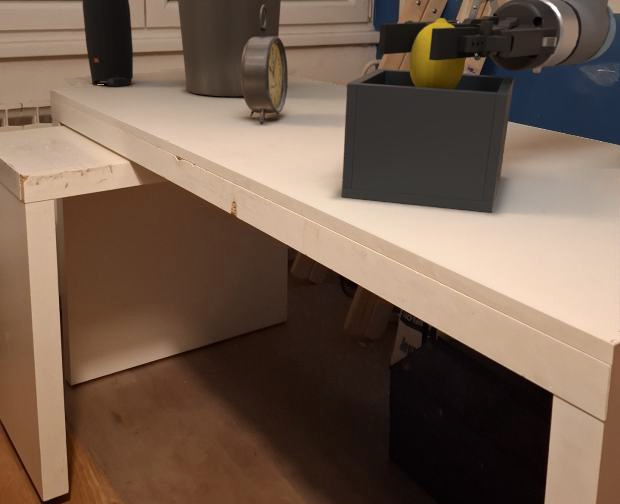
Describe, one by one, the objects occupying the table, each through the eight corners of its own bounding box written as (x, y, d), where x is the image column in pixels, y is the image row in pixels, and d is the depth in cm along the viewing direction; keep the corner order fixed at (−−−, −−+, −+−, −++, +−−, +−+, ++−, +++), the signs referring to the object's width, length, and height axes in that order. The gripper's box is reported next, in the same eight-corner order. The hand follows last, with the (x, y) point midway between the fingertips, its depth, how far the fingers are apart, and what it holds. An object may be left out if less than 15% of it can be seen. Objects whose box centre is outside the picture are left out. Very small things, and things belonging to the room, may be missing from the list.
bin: (500, 178, 86) (514, 76, 81) (491, 212, 73) (507, 94, 68) (371, 166, 90) (377, 68, 85) (341, 197, 77) (346, 83, 72)
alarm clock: (269, 126, 112) (270, 6, 105) (235, 123, 113) (233, 4, 106) (289, 115, 121) (290, 4, 114) (257, 112, 122) (256, 3, 115)
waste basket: (167, 82, 153) (159, -88, 140) (265, 82, 159) (266, -82, 146) (187, 102, 130) (179, -99, 117) (301, 101, 135) (305, -92, 122)
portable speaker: (105, 88, 143) (94, -27, 134) (81, 82, 149) (69, -28, 140) (144, 85, 148) (136, -26, 139) (119, 80, 154) (111, -27, 145)
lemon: (398, 98, 79) (405, 15, 76) (447, 98, 81) (456, 16, 77) (418, 107, 75) (426, 19, 71) (469, 106, 76) (480, 20, 72)
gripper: (600, 78, 83) (485, 95, 68) (459, 61, 94) (333, 73, 79) (614, 3, 79) (497, 3, 64) (466, -5, 91) (337, -6, 76)
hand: (407, 41), depth 72 cm, fingers closed on lemon, 5 cm apart
